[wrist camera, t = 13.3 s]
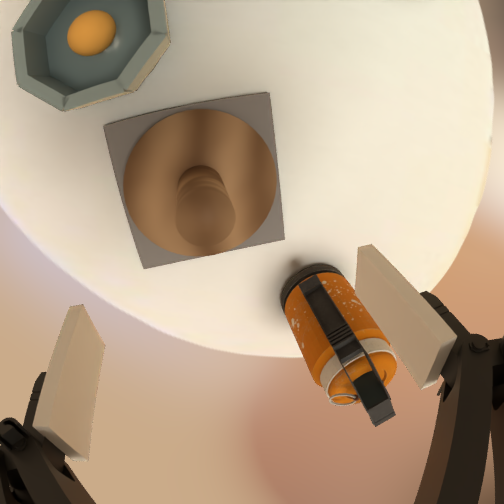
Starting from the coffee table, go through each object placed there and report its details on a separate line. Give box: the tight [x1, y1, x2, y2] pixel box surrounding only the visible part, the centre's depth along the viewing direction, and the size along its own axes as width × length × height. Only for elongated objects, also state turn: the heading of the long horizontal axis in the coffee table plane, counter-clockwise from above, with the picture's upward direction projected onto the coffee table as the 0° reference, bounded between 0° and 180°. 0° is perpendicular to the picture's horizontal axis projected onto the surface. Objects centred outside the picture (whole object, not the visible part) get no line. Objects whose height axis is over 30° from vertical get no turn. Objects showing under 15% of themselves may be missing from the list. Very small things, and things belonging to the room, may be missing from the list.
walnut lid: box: [123, 109, 277, 256], centre depth 27 cm, size 15×15×9 cm
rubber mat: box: [103, 93, 285, 269], centre depth 31 cm, size 16×16×1 cm
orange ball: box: [67, 10, 116, 56], centre depth 19 cm, size 4×4×4 cm
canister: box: [281, 265, 397, 427], centre depth 32 cm, size 9×11×20 cm
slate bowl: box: [11, 0, 171, 112], centre depth 19 cm, size 13×13×6 cm
